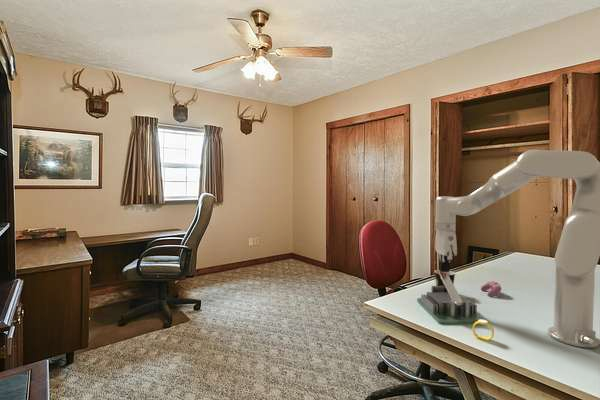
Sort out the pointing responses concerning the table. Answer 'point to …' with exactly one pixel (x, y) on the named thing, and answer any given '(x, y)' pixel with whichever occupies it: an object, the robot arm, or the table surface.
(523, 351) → the table surface
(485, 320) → the watch
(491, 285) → the video game controller
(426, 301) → the heat sink base
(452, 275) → the coffee mug
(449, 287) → the steel strap
